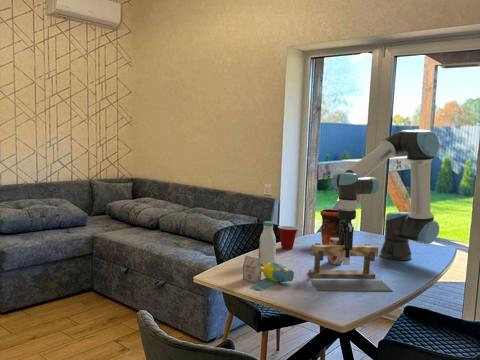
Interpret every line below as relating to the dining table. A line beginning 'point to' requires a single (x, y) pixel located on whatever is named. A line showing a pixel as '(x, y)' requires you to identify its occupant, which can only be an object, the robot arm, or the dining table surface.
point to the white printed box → (252, 269)
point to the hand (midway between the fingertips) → (344, 262)
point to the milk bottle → (267, 244)
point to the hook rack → (343, 273)
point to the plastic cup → (287, 236)
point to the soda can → (334, 259)
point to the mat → (351, 285)
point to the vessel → (329, 225)
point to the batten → (338, 250)
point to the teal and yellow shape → (273, 275)
